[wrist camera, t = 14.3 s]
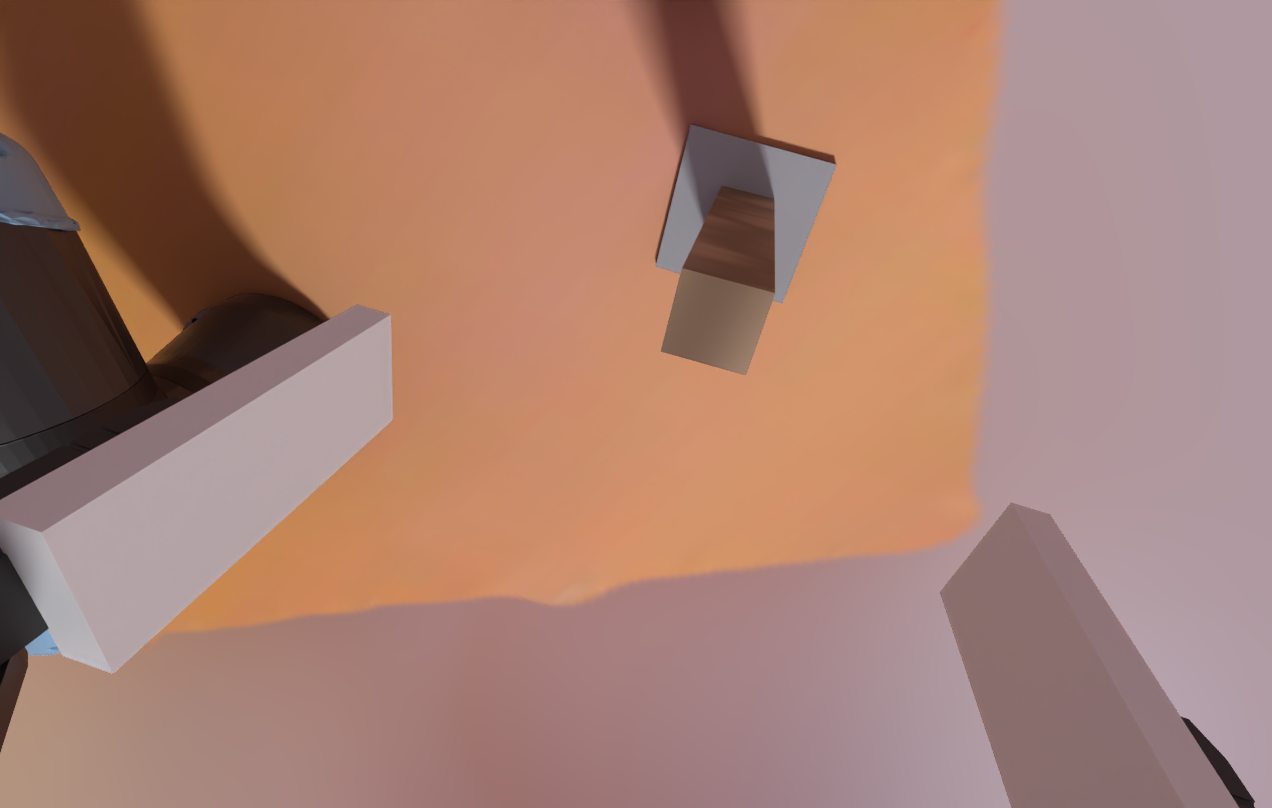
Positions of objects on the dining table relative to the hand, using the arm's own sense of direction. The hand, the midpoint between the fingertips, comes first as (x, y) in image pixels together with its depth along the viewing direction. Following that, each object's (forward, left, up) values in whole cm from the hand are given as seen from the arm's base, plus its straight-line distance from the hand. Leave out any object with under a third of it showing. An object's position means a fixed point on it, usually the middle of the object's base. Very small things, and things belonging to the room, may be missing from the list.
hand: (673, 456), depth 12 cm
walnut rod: (0, 0, -24) cm, 24 cm away
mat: (0, 0, -24) cm, 24 cm away
